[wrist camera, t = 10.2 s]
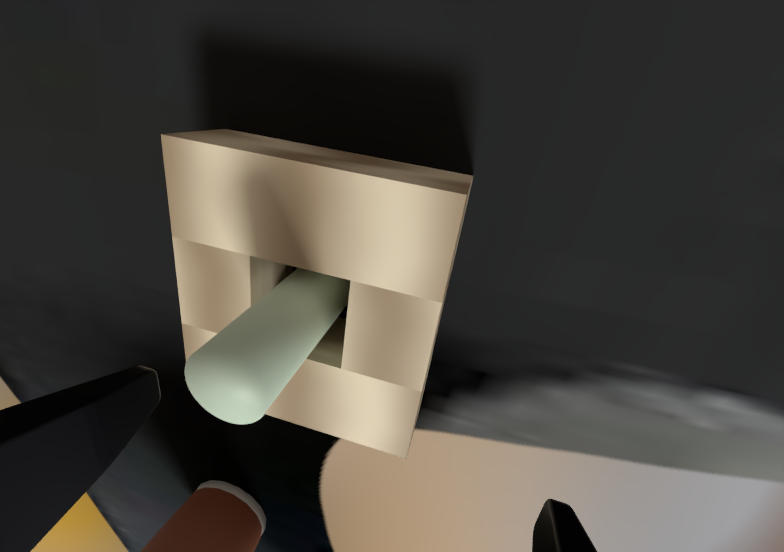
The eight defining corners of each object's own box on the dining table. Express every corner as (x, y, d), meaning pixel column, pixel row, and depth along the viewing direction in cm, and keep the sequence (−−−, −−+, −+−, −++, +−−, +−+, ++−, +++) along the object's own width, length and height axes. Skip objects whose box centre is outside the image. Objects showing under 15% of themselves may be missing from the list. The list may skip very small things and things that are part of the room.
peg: (361, 257, 20) (268, 363, 12) (355, 308, 21) (267, 434, 13) (307, 245, 20) (180, 337, 12) (304, 295, 21) (188, 409, 13)
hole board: (473, 175, 17) (466, 195, 13) (421, 402, 22) (406, 458, 19) (225, 128, 19) (160, 134, 15) (234, 348, 24) (189, 389, 21)
